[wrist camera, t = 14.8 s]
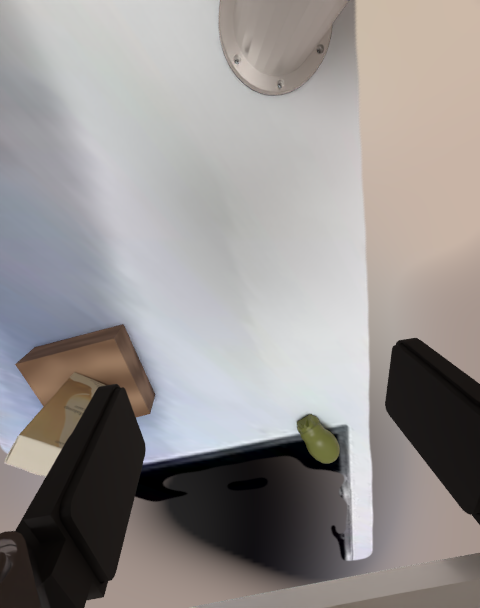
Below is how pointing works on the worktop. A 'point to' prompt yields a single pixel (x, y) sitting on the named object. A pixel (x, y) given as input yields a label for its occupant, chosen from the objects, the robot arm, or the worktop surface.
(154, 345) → the worktop surface
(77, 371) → the walnut block
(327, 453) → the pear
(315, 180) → the worktop surface
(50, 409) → the skincare box
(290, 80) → the robot arm
